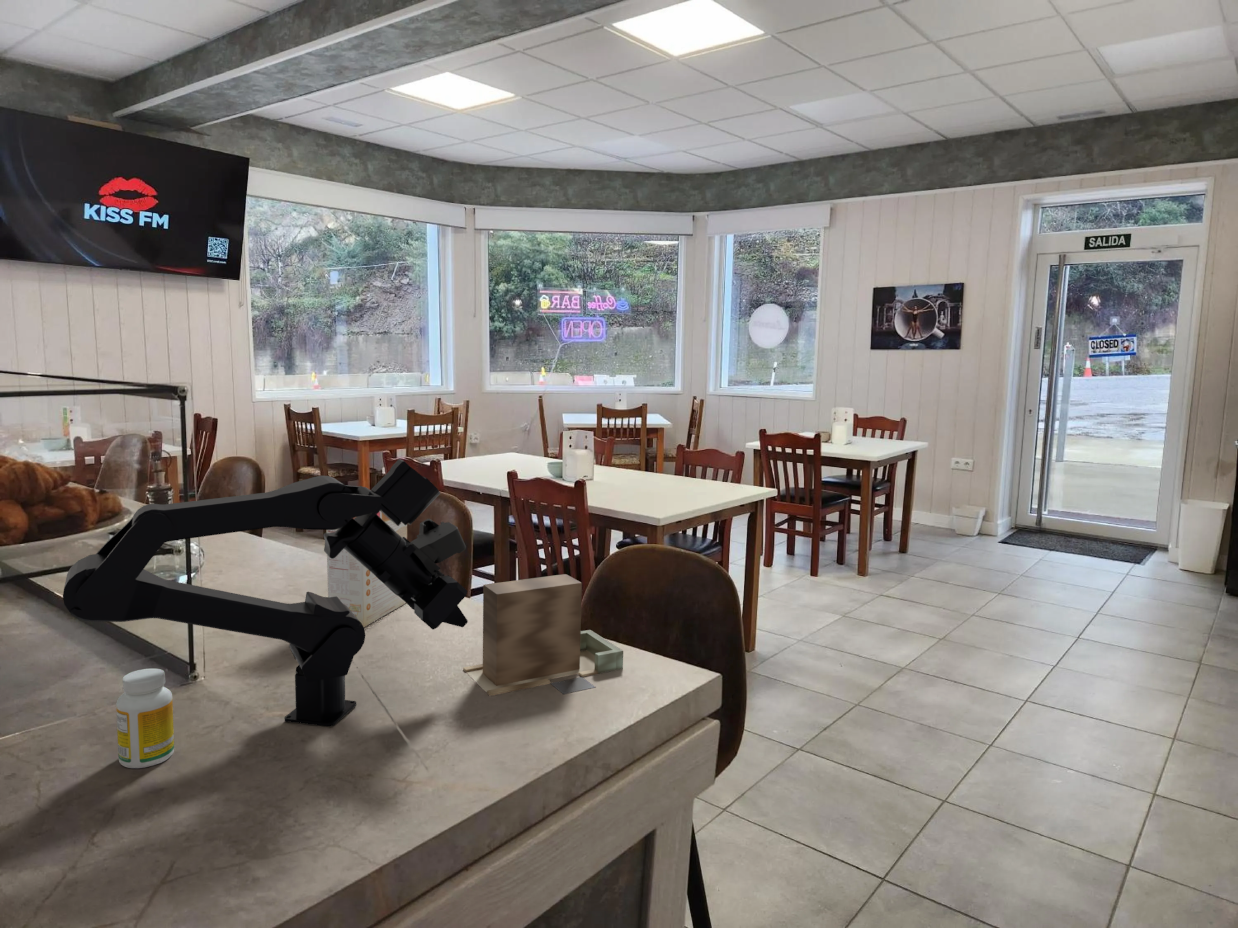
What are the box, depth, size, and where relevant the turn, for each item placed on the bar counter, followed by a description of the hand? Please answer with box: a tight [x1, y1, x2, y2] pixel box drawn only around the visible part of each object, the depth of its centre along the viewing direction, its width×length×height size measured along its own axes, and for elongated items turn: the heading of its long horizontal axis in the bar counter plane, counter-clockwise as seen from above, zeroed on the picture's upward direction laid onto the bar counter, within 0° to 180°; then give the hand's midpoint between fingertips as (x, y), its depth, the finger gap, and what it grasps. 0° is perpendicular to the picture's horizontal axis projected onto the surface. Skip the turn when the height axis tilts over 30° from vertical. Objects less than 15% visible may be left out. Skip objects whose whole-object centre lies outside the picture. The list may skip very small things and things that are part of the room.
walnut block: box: [482, 573, 583, 686], centre depth 116 cm, size 13×5×13 cm, turn 121°
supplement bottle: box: [115, 667, 175, 769], centre depth 89 cm, size 5×5×10 cm
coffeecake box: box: [325, 511, 408, 628], centre depth 139 cm, size 15×7×20 cm, turn 165°
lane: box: [462, 629, 624, 697], centre depth 117 cm, size 21×18×3 cm
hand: (464, 623), depth 110 cm, fingers closed
